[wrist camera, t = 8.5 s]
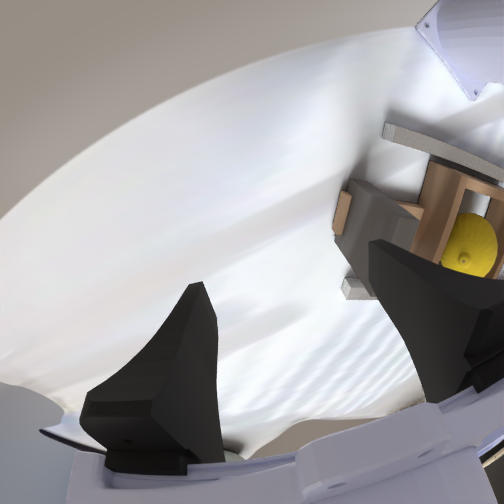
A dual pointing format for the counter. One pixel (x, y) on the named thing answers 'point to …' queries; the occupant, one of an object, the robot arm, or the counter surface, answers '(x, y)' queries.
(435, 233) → the wooden tray
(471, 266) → the lemon
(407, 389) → the counter surface
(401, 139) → the lane rails
